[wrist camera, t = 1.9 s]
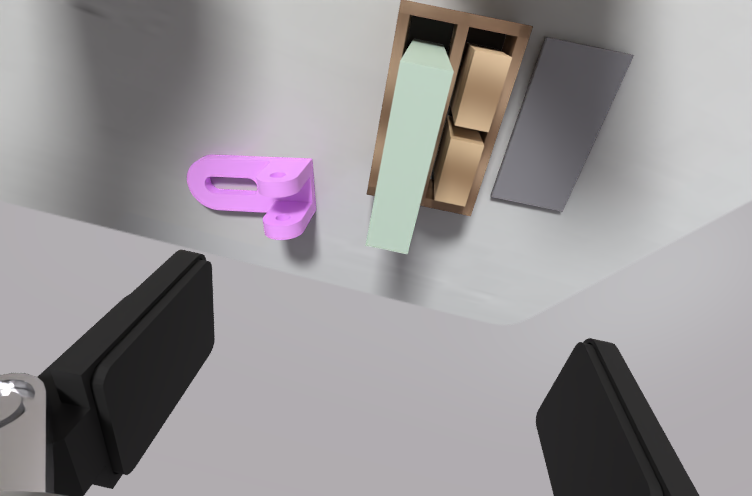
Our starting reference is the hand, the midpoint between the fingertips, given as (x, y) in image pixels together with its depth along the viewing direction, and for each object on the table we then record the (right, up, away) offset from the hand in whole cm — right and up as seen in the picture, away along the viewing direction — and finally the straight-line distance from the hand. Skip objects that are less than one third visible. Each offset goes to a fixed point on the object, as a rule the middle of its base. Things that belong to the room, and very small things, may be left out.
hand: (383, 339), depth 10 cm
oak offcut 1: (+8, +17, +25) cm, 31 cm away
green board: (+3, +15, +26) cm, 31 cm away
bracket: (-13, +9, +32) cm, 36 cm away
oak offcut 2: (+7, +12, +28) cm, 31 cm away
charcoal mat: (+16, +13, +26) cm, 33 cm away
